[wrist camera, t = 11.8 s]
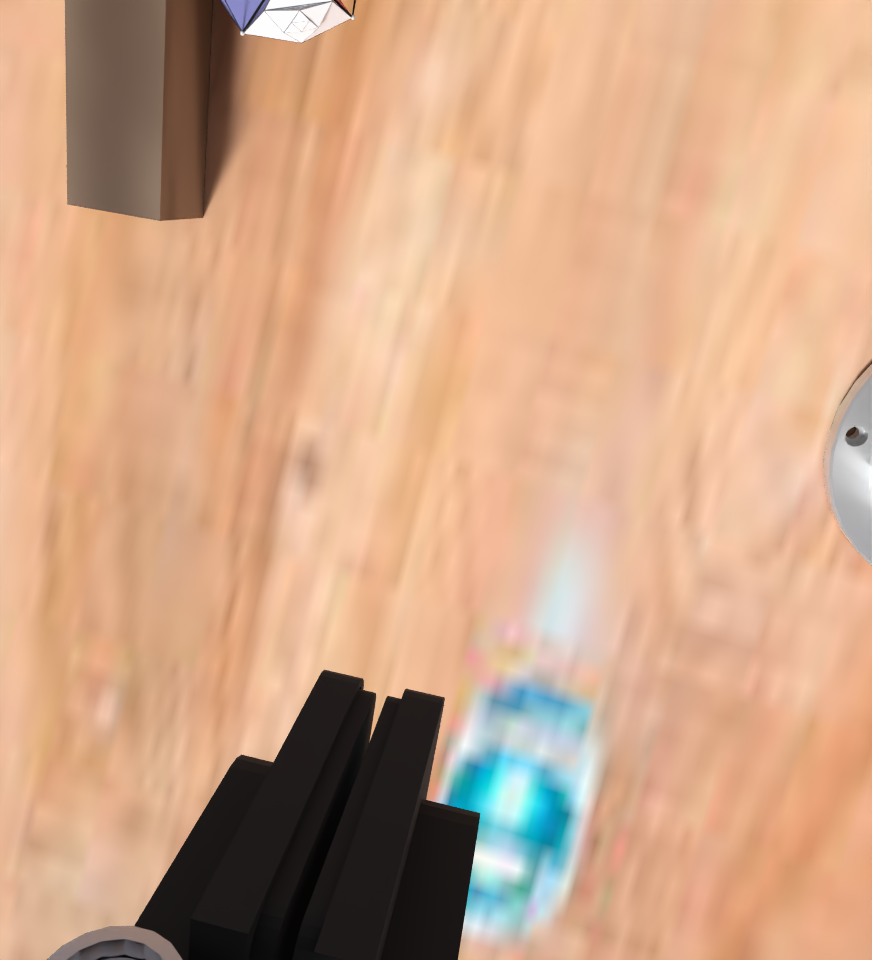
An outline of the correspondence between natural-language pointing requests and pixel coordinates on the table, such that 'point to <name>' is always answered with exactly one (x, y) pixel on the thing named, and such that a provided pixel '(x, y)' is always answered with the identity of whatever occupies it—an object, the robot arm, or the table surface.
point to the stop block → (137, 105)
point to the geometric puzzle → (287, 17)
